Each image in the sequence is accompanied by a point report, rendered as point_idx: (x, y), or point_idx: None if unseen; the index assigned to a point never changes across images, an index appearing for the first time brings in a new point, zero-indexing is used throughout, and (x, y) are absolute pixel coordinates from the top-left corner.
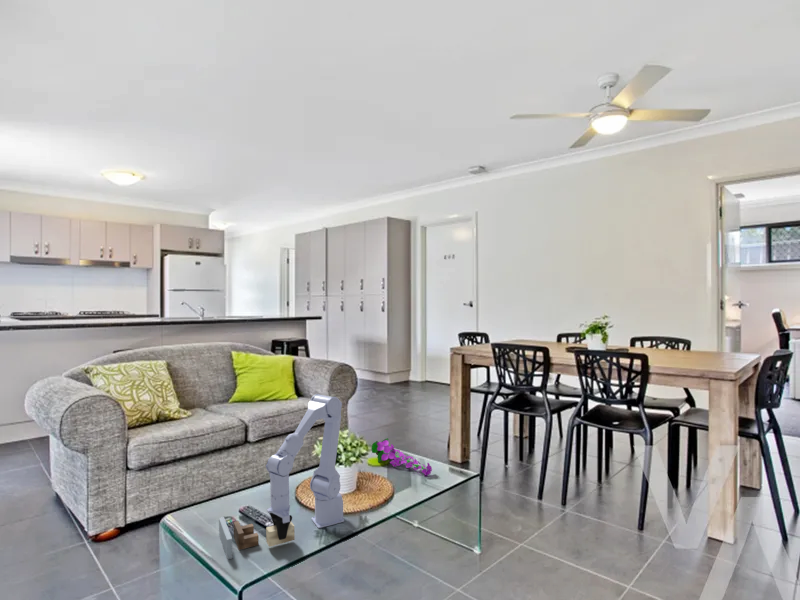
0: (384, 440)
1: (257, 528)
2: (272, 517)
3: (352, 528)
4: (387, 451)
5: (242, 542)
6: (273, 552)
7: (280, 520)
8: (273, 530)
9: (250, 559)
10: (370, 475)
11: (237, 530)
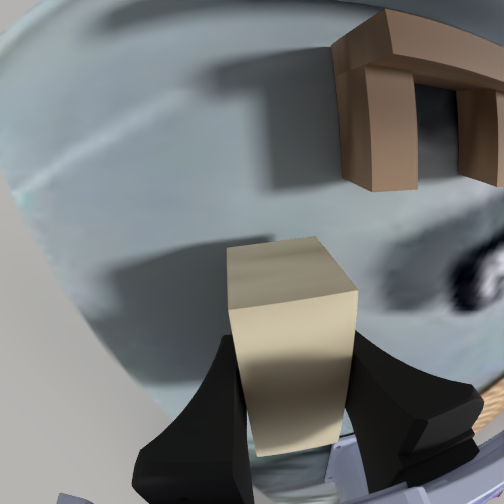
0: (500, 492)
1: (498, 207)
2: (390, 404)
3: (273, 490)
4: None
5: (352, 59)
6: (205, 259)
7: (146, 499)
8: (253, 350)
9: (172, 104)
10: None
11: (449, 27)
